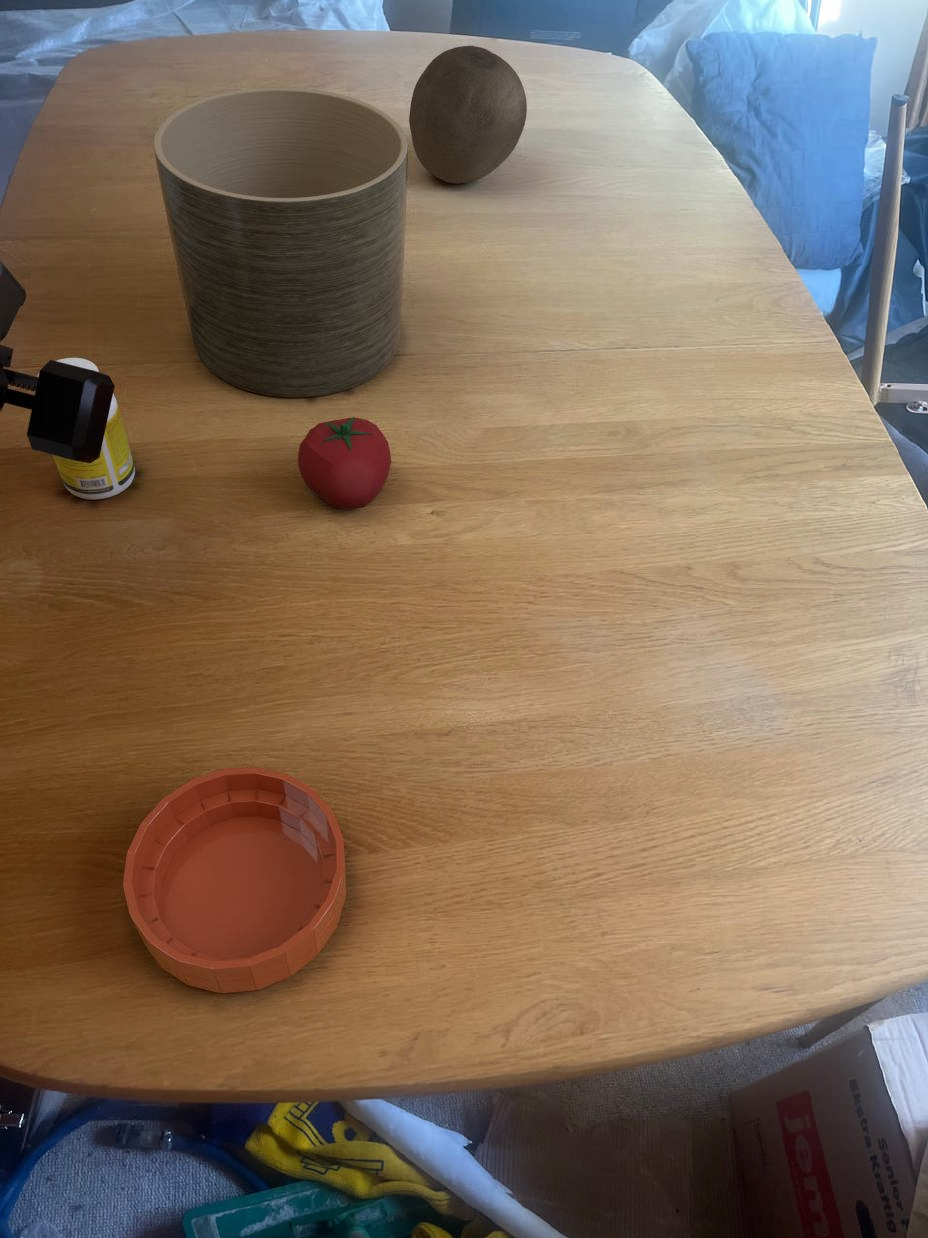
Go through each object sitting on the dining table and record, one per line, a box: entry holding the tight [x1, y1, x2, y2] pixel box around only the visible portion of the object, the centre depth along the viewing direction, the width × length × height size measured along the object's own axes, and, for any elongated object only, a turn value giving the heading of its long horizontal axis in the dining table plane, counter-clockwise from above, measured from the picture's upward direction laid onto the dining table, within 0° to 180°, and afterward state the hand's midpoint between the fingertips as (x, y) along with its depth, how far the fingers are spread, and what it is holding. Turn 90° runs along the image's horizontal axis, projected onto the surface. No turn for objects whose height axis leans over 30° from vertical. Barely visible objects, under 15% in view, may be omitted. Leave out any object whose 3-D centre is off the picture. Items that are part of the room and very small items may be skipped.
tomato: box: [297, 416, 392, 510], centre depth 83 cm, size 8×8×7 cm
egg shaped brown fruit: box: [408, 45, 528, 184], centre depth 119 cm, size 14×14×15 cm
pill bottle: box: [37, 357, 136, 501], centre depth 81 cm, size 6×6×11 cm
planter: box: [152, 86, 409, 398], centre depth 93 cm, size 22×22×20 cm
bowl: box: [122, 766, 347, 994], centre depth 60 cm, size 13×13×4 cm
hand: (48, 406), depth 75 cm, fingers open, 9 cm apart
